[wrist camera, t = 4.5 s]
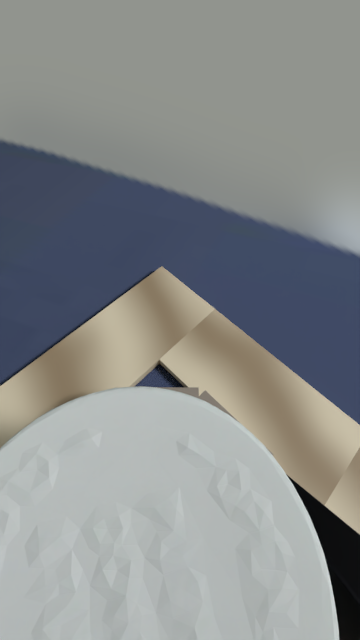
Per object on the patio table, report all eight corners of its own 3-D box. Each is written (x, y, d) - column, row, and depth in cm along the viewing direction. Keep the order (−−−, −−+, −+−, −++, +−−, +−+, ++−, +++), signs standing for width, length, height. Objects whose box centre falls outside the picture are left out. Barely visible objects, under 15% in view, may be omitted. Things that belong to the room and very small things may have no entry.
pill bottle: (72, 612, 12) (-457, 1275, 2) (98, 444, 15) (-42, 348, 5) (228, 615, 12) (538, 1258, 2) (220, 447, 15) (323, 362, 5)
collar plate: (135, 1303, 6) (113, 1881, 4) (-168, 519, 13) (-252, 527, 10) (454, 510, 14) (520, 514, 11) (161, 271, 20) (160, 240, 18)
